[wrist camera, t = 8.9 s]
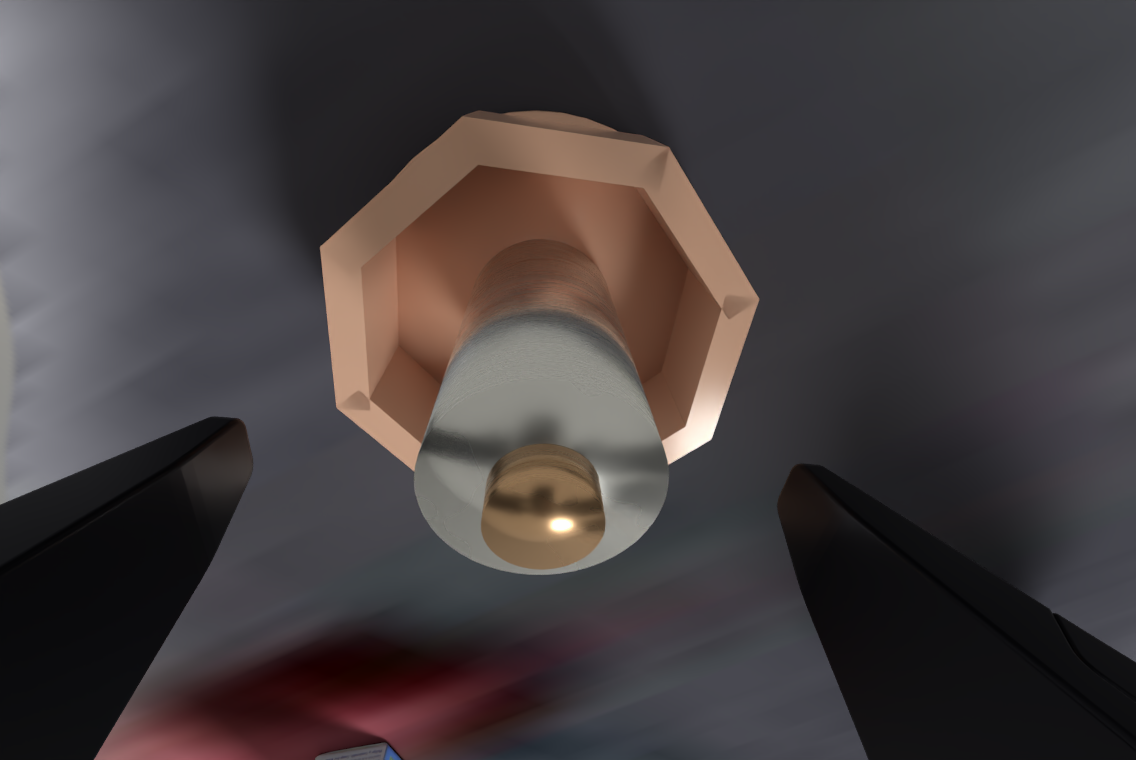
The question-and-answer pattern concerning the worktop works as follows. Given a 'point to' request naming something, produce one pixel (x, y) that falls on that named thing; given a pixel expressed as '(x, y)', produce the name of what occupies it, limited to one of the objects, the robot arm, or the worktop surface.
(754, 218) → the worktop surface
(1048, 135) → the worktop surface
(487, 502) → the battery cell
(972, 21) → the worktop surface
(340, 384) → the cup
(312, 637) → the worktop surface
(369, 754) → the medicine box
